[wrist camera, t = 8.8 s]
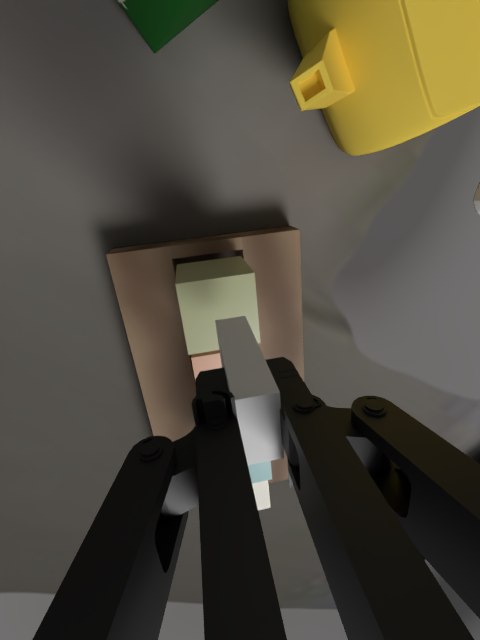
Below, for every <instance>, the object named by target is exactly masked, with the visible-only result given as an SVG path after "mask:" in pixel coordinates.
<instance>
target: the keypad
mask: <svg viewBox="0 0 480 640" xmlns="http://www.w3.org/2000/svg"><path fill="white" fill-rule="evenodd" d="M236 256H241V257H242V258H243V259H244V260H245V262H246V263H247V264H248V265H249V267H250V268H251V269H252V270H253V271H254V273H255V283H256V295H257V307H258V318H259V330H260V342H261V343H258V345H259V347H260V349H261V352H262V354H263V356H264V358H265V360H266V359H272V358H278V357H285V358H287V359H288V360H290V361H291V362H292V363H293V364H294V366H295V368H296V370H297V371H298V373H299V374H300V376H301V378H302V379H303V381H304V360H303V324H302V289H301V253H300V229H297V228H295V227H292V226H283V227H275V228H268V229H260V230H252V231H244V232H236V233H229V234H221V235H213V236H205V237H197V238H189V239H182V240H174V241H166V242H158V243H150V244H142V245H135V246H127V247H119V248H113V249H112V250H110V251H109V252H108V253H107V254H106V257H107V260H108V264H109V268H110V272H111V276H112V279H113V283H114V287H115V291H116V295H117V298H118V302H119V306H120V310H121V314H122V317H123V321H124V325H125V329H126V333H127V336H128V340H129V344H130V348H131V352H132V355H133V359H134V363H135V367H136V371H137V374H138V378H139V382H140V386H141V390H142V393H143V397H144V401H145V405H146V409H147V412H148V416H149V420H150V424H151V428H152V431H153V435H154V436H166V437H167V438H169V439H171V441H172V442H173V441H175V440H178V439H180V438H182V437H184V436H186V435H187V434H188V433H190V432H191V431H192V430H193V428H194V427H195V421H194V416H193V410H192V401H193V399H194V398H195V397H196V382H195V376H194V371H193V365H192V360H191V355H188V350H187V345H186V339H185V334H184V329H183V323H182V318H181V312H180V307H179V302H178V296H177V291H176V286H175V281H176V267H177V264H184V263H192V262H199V261H207V260H214V259H221V258H229V257H236ZM271 471H272V479H271V480H268V483H272V482H277V481H281V480H286V479H289V478H288V461H287V456H286V453H285V450H284V458H282V459H277V460H272V461H271Z"/></svg>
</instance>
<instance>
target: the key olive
mask: <svg viewBox="0 0 480 640" xmlns="http://www.w3.org/2000/svg"><path fill="white" fill-rule="evenodd" d="M175 286H176V291H177V296H178V302H179V307H180V312H181V318H182V323H183V329H184V334H185V339H186V345H187V350H188V355H191V354H197V353H203V352H209V351H215V350H219V344H218V337H217V330H216V323H215V320H220V319H227V318H234V317H240V316H246V319H247V321H248V323H249V325H250V327H251V330H252V332H253V334H254V336H255V338H256V341H257V343H261V342H260V330H259V318H258V307H257V295H256V283H255V273H254V271H253V270H252V269H251V268H250V267H249V265H248V264H247V263H246V262H245V260H244V259H243V258H242V257H241V256H236V257H229V258H221V259H214V260H207V261H199V262H192V263H184V264H177V267H176V281H175Z"/></svg>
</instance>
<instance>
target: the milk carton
mask: <svg viewBox="0 0 480 640" xmlns="http://www.w3.org/2000/svg"><path fill="white" fill-rule="evenodd" d="M117 1H118V3H119V4H120V6H121V7H122V8H123V10H124V11H125V13H126V14H127V16H128V17H129V18H130V20H131V21H132V23H133V24H134V25H135V27H136V28H137V30H138V31H139V32H140V34H141V35H142V37H143V38H144V39H145V41H146V42H147V44H148V45H149V46H150V48H151V49H152V51H153V52H154V53H156V52H157V51H158V50H159V49H161V48H162V47H163V46H164V45H165V44H167V43H168V42H169V41H170V40H171V39H173V38H174V37H175V36H176V35H177V34H179V33H180V32H181V31H182V30H183V29H185V28H186V27H187V26H188V25H189V24H191V23H192V22H193V21H194V20H195V19H197V18H198V17H199V16H200V15H201V14H203V13H204V12H205V11H206V10H207V9H209V8H210V7H211V6H212V5H213V4H215V3H216V2H217V1H218V0H117Z"/></svg>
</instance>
